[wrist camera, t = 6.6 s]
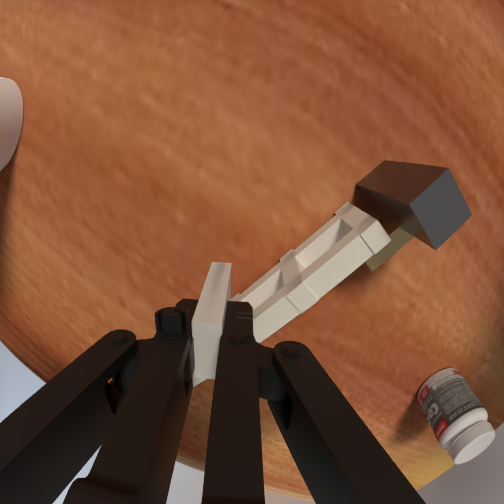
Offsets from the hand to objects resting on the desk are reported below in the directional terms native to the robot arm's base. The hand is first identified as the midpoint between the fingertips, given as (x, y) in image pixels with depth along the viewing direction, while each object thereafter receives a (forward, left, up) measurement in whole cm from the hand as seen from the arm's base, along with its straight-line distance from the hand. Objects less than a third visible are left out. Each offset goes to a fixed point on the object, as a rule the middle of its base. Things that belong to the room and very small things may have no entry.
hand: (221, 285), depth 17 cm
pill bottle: (+21, +7, -2) cm, 22 cm away
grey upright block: (+3, +10, -2) cm, 10 cm away
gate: (+2, +2, -2) cm, 3 cm away
